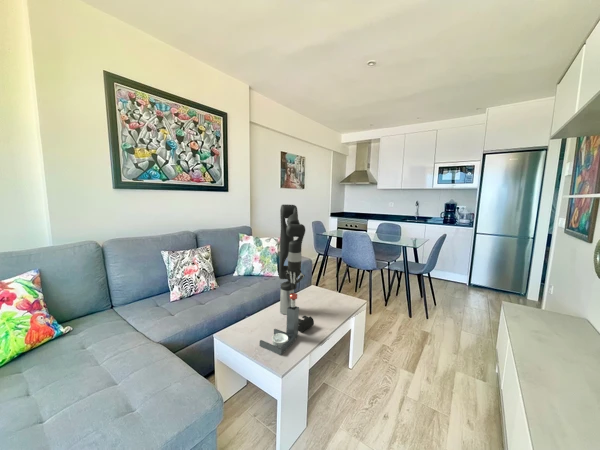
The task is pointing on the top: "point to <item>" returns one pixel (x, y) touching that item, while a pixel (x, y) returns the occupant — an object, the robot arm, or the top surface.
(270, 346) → the press
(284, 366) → the top surface
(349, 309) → the top surface
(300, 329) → the end cap
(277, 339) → the ramekin
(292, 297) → the ram plunger
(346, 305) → the top surface
